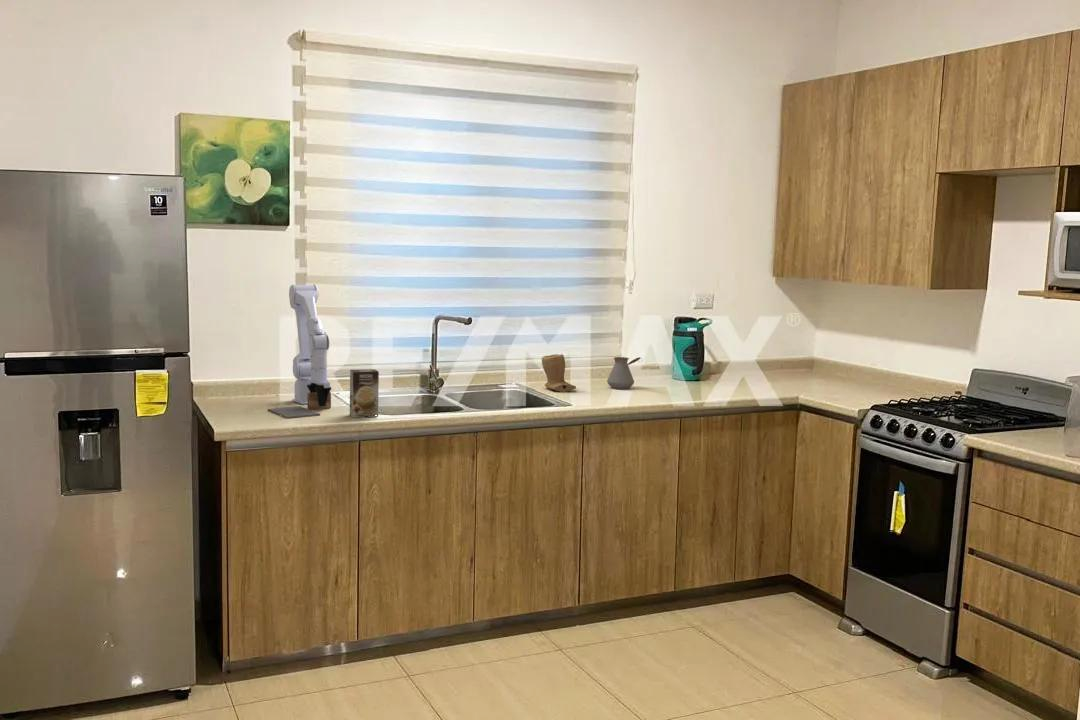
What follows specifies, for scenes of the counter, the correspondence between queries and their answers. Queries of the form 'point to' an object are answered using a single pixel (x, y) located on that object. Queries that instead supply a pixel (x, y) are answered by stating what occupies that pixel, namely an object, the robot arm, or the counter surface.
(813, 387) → the counter surface
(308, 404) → the slab
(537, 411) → the counter surface
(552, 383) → the brown suede boot
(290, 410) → the mat
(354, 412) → the coffee box
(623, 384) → the coffee pot
